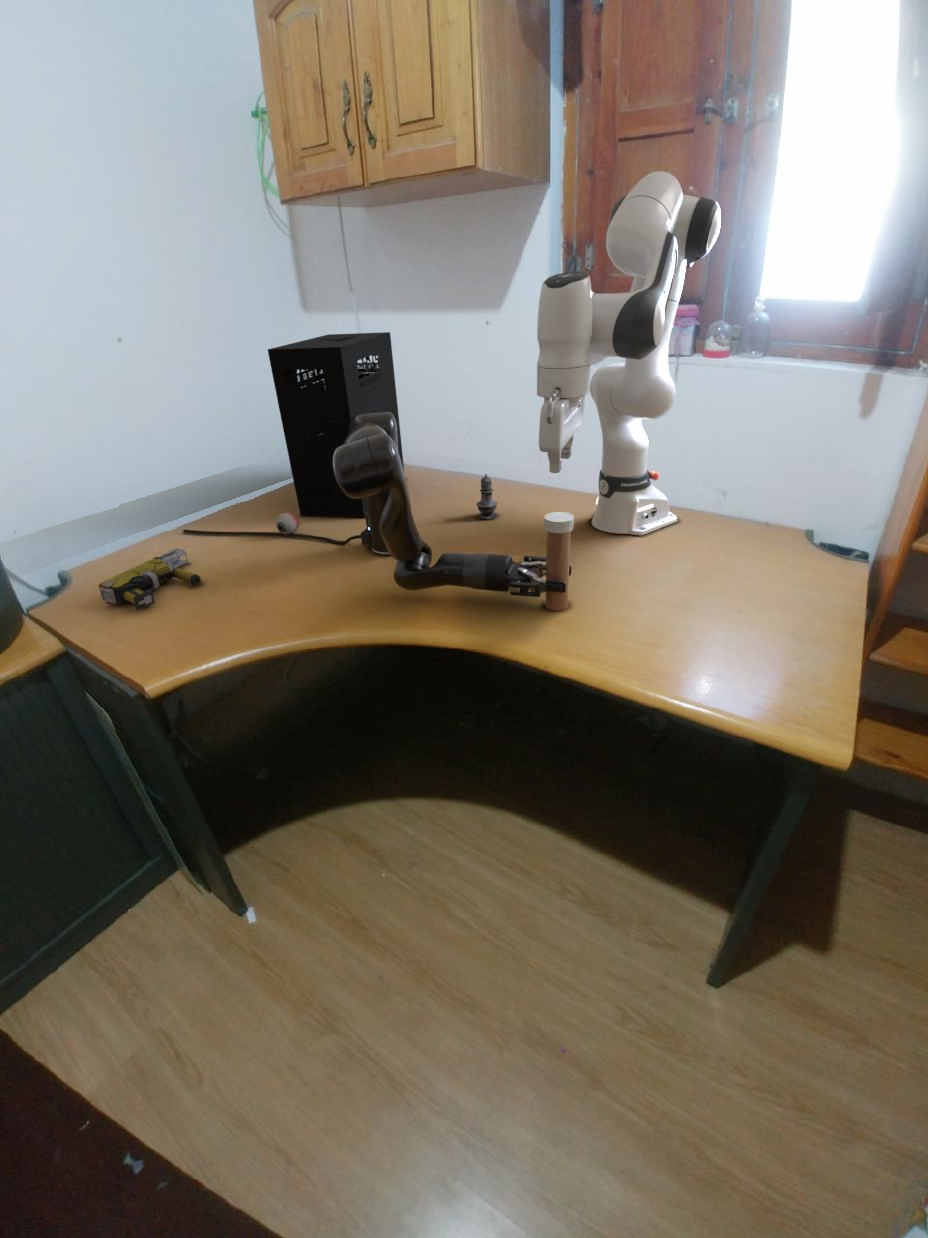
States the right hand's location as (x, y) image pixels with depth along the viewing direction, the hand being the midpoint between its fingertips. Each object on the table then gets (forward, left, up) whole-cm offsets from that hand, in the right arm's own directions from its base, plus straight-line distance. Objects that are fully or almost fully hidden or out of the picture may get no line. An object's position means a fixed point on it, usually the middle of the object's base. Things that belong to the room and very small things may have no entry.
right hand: (560, 464), depth 109 cm
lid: (0, 0, -10) cm, 10 cm away
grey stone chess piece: (-11, -53, -29) cm, 62 cm away
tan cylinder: (0, 0, -29) cm, 29 cm away
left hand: (-2, +1, -23) cm, 23 cm away
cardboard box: (+16, -92, -29) cm, 98 cm away
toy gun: (+73, -52, -29) cm, 94 cm away
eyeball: (+41, -70, -29) cm, 87 cm away
